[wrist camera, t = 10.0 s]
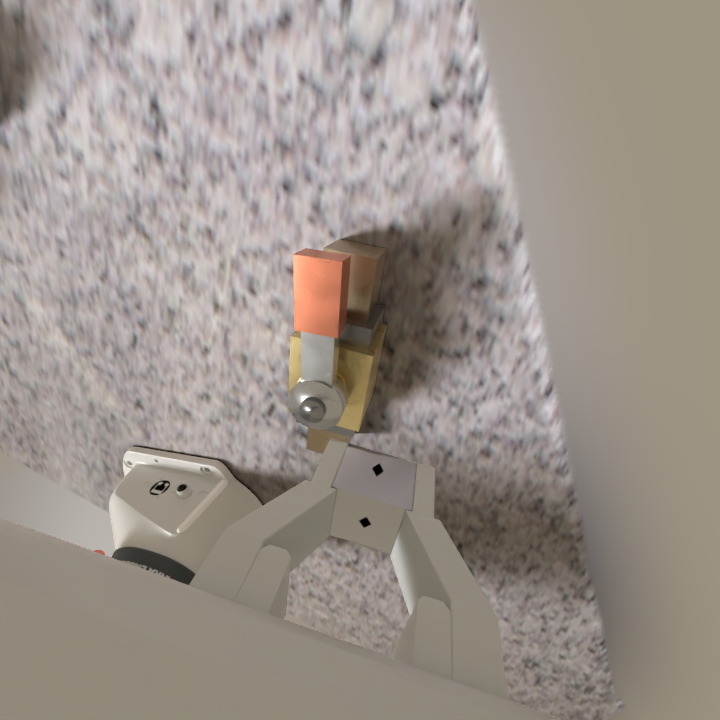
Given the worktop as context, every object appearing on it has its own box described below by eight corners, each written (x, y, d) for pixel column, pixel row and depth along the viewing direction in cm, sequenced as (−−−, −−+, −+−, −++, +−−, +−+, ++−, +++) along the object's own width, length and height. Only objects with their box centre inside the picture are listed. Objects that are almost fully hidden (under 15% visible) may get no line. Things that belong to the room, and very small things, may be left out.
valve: (364, 437, 35) (347, 486, 29) (309, 421, 36) (282, 466, 30) (402, 251, 25) (388, 273, 19) (325, 236, 26) (290, 252, 20)
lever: (346, 419, 25) (337, 440, 23) (297, 408, 26) (284, 428, 24) (361, 256, 19) (350, 265, 17) (296, 246, 20) (278, 254, 18)
